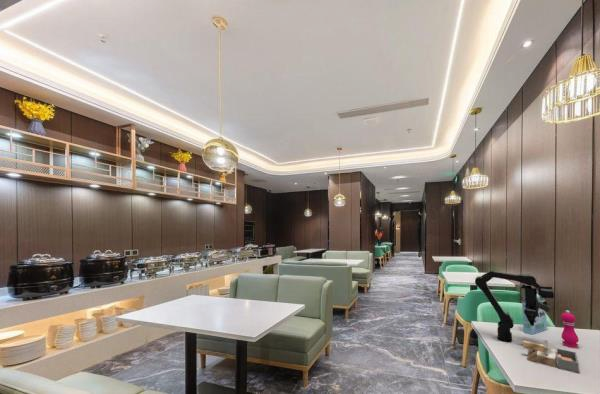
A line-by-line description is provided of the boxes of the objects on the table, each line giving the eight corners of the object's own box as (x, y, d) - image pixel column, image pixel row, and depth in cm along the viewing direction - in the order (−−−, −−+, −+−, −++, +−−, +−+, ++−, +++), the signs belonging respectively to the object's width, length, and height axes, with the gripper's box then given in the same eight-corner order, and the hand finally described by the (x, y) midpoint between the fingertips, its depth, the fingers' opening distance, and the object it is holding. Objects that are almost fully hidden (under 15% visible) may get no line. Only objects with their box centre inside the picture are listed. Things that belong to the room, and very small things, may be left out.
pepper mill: (582, 349, 161) (579, 312, 163) (567, 348, 162) (564, 311, 164) (573, 343, 168) (570, 308, 170) (559, 342, 169) (556, 308, 171)
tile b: (572, 361, 143) (572, 364, 143) (571, 358, 146) (572, 361, 146) (561, 359, 146) (561, 361, 146) (561, 356, 149) (561, 358, 149)
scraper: (522, 350, 150) (522, 342, 151) (524, 343, 159) (523, 335, 160) (548, 356, 144) (547, 348, 144) (547, 348, 153) (547, 340, 153)
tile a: (557, 357, 142) (561, 357, 141) (557, 354, 145) (560, 354, 144) (558, 365, 142) (561, 366, 141) (558, 362, 145) (561, 363, 144)
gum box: (538, 327, 194) (536, 293, 196) (547, 330, 190) (545, 294, 192) (523, 332, 186) (520, 296, 188) (532, 335, 181) (529, 298, 183)
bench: (527, 360, 148) (527, 352, 149) (528, 351, 159) (528, 343, 159) (556, 367, 141) (555, 358, 141) (555, 357, 152) (554, 349, 152)
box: (557, 367, 140) (556, 358, 141) (556, 356, 152) (555, 348, 152) (579, 373, 135) (578, 363, 136) (576, 361, 147) (575, 352, 147)
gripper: (548, 302, 157) (551, 331, 155) (548, 295, 171) (550, 322, 169) (523, 298, 164) (525, 326, 162) (524, 292, 178) (526, 318, 177)
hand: (532, 323), depth 168 cm, fingers open, 9 cm apart
